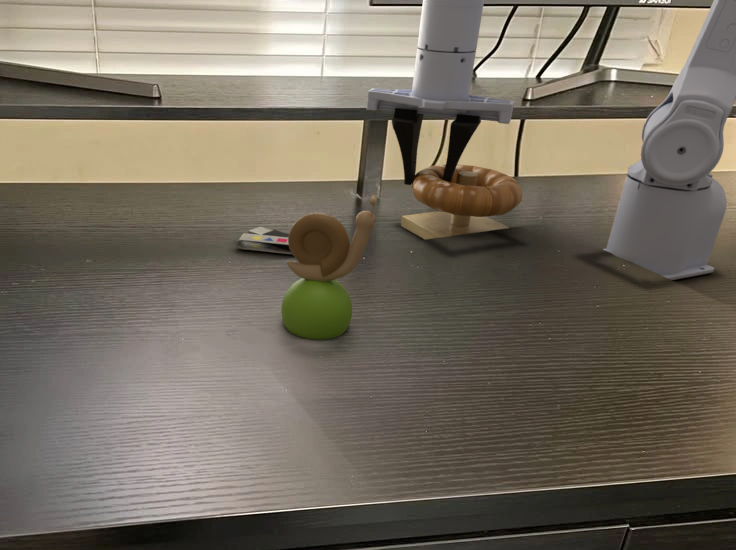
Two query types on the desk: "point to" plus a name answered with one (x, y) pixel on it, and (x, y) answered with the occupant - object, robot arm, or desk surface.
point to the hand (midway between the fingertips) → (427, 184)
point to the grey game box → (265, 241)
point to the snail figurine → (323, 273)
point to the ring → (467, 192)
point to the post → (449, 219)
